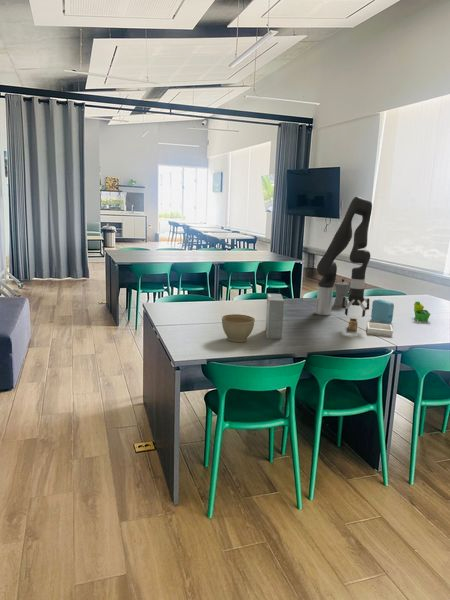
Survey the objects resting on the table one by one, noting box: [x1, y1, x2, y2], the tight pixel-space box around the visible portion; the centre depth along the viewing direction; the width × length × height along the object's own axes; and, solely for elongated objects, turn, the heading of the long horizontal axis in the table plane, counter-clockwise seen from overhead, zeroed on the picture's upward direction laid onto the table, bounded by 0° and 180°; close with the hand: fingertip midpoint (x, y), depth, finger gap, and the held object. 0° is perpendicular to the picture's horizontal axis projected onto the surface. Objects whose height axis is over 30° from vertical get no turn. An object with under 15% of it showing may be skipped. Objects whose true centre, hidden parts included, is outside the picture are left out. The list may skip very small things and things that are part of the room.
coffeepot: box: [333, 278, 351, 308], centre depth 308 cm, size 15×9×18 cm, turn 115°
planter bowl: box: [221, 313, 256, 343], centre depth 224 cm, size 16×16×11 cm
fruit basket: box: [413, 300, 431, 323], centre depth 277 cm, size 11×9×11 cm
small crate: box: [347, 317, 359, 332], centre depth 251 cm, size 5×8×5 cm, turn 164°
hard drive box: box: [265, 293, 285, 340], centre depth 234 cm, size 16×8×20 cm, turn 178°
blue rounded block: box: [370, 299, 395, 324], centre depth 270 cm, size 12×4×12 cm, turn 32°
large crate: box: [366, 321, 394, 337], centre depth 247 cm, size 13×14×3 cm
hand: (354, 316), depth 250 cm, fingers open, 8 cm apart
